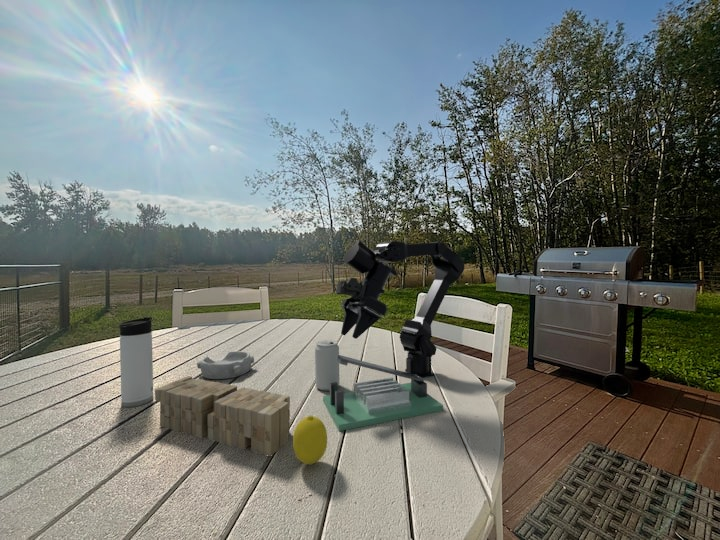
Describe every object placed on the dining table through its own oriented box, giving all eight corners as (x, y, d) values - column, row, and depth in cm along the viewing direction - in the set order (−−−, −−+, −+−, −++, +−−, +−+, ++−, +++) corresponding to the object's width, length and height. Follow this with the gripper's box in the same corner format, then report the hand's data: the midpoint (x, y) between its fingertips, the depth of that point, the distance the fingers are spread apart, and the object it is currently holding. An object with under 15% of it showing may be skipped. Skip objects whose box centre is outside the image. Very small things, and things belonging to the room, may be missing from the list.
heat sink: (412, 385, 79) (412, 368, 79) (434, 401, 69) (433, 381, 69) (327, 399, 71) (327, 379, 71) (339, 419, 62) (339, 397, 62)
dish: (190, 377, 90) (190, 361, 90) (227, 363, 103) (227, 348, 103) (228, 384, 84) (228, 366, 84) (262, 368, 97) (261, 353, 97)
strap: (416, 380, 75) (417, 374, 75) (422, 384, 72) (424, 378, 72) (336, 359, 68) (338, 353, 68) (340, 363, 65) (342, 357, 66)
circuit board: (411, 386, 81) (411, 382, 81) (443, 410, 68) (443, 404, 68) (323, 401, 73) (323, 396, 73) (338, 431, 60) (338, 425, 60)
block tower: (296, 440, 59) (188, 409, 70) (296, 397, 59) (189, 372, 70) (269, 464, 52) (154, 426, 63) (270, 415, 51) (154, 385, 63)
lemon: (298, 480, 46) (298, 428, 46) (289, 459, 51) (288, 412, 51) (332, 468, 49) (332, 419, 49) (320, 450, 54) (320, 405, 54)
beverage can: (335, 392, 78) (335, 346, 78) (311, 391, 79) (311, 344, 79) (342, 383, 84) (341, 339, 84) (320, 381, 85) (319, 339, 85)
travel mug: (160, 397, 76) (159, 317, 76) (133, 409, 70) (131, 322, 70) (142, 394, 78) (141, 316, 78) (114, 405, 72) (112, 320, 72)
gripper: (338, 271, 88) (312, 320, 84) (361, 262, 71) (330, 323, 67) (370, 289, 91) (346, 338, 87) (399, 285, 74) (372, 345, 70)
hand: (348, 336), depth 78 cm, fingers open, 9 cm apart
